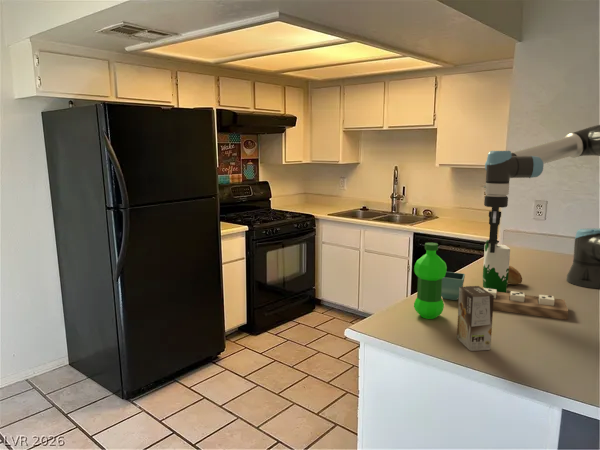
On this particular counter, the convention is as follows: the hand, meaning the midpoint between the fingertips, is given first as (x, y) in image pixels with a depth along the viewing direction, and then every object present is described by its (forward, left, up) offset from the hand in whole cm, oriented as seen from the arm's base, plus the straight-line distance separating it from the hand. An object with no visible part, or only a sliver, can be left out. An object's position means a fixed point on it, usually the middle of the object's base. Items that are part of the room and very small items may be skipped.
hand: (491, 260), depth 156 cm
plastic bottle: (+26, +9, -16) cm, 32 cm away
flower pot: (+11, -8, -16) cm, 21 cm away
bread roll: (-18, -24, -16) cm, 34 cm away
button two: (-16, +9, -15) cm, 23 cm away
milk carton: (-10, -15, -16) cm, 24 cm away
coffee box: (+21, +31, -16) cm, 41 cm away
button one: (0, 0, -15) cm, 15 cm away
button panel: (-8, +4, -16) cm, 18 cm away
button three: (-8, +4, -15) cm, 17 cm away
